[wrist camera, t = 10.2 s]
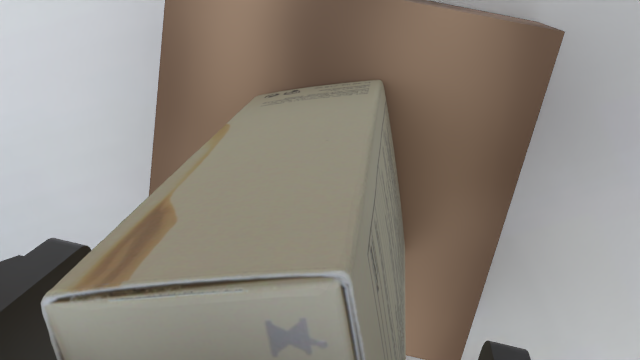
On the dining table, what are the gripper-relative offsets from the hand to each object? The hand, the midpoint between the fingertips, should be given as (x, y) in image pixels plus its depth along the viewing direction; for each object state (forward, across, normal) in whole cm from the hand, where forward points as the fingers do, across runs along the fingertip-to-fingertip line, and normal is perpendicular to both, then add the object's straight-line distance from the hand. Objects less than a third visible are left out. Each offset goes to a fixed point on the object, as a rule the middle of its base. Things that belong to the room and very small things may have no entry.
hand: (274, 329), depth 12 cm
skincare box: (+9, 0, 0) cm, 9 cm away
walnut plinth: (+12, 0, 0) cm, 13 cm away
